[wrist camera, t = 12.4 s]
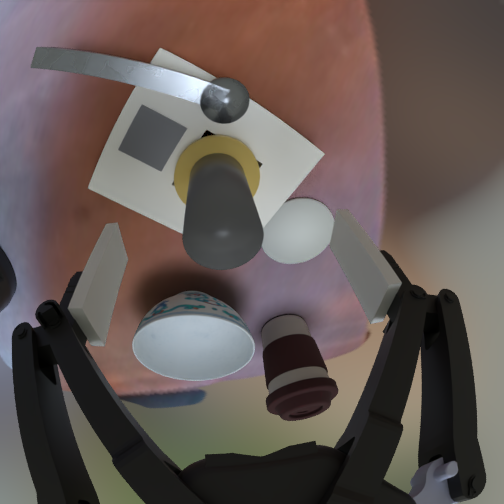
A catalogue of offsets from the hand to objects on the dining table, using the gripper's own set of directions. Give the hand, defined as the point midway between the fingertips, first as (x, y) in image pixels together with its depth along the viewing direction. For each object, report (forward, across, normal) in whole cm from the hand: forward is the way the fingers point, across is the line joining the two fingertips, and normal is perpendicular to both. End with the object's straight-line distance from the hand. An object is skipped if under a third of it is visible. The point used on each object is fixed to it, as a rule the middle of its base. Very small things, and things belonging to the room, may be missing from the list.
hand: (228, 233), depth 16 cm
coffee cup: (+13, +8, -27) cm, 31 cm away
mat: (+13, +8, -9) cm, 18 cm away
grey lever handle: (+7, -6, +10) cm, 14 cm away
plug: (+12, 0, 0) cm, 12 cm away
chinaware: (+13, -5, -20) cm, 24 cm away
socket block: (+12, -2, +1) cm, 13 cm away
